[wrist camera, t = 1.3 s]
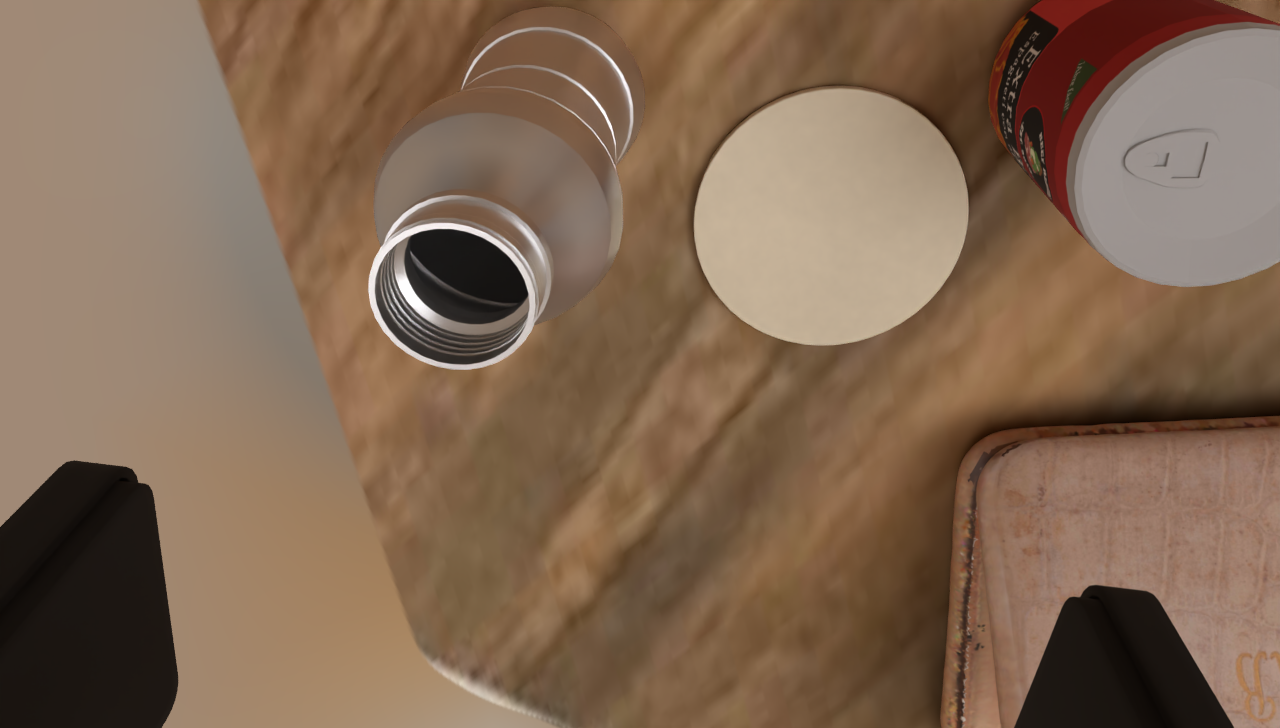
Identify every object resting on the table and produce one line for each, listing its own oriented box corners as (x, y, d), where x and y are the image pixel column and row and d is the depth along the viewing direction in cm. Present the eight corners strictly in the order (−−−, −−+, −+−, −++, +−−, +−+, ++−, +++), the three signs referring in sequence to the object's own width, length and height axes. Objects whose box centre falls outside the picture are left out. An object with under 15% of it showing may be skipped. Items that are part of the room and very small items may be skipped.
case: (1445, 386, 44) (1796, 660, 30) (1329, 734, 54) (1550, 1064, 40) (956, 405, 46) (1068, 672, 32) (931, 739, 55) (1007, 1055, 41)
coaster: (715, 67, 39) (715, 70, 39) (1000, 105, 39) (1003, 108, 39) (676, 322, 44) (676, 327, 44) (927, 356, 44) (929, 361, 44)
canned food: (969, 3, 38) (1061, 70, 28) (1200, -60, 36) (1381, -12, 26) (994, 196, 41) (1083, 316, 31) (1206, 146, 40) (1367, 255, 30)
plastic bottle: (476, -14, 38) (282, 138, 21) (657, 3, 38) (616, 170, 21) (475, 154, 41) (307, 410, 24) (642, 170, 41) (597, 439, 24)
